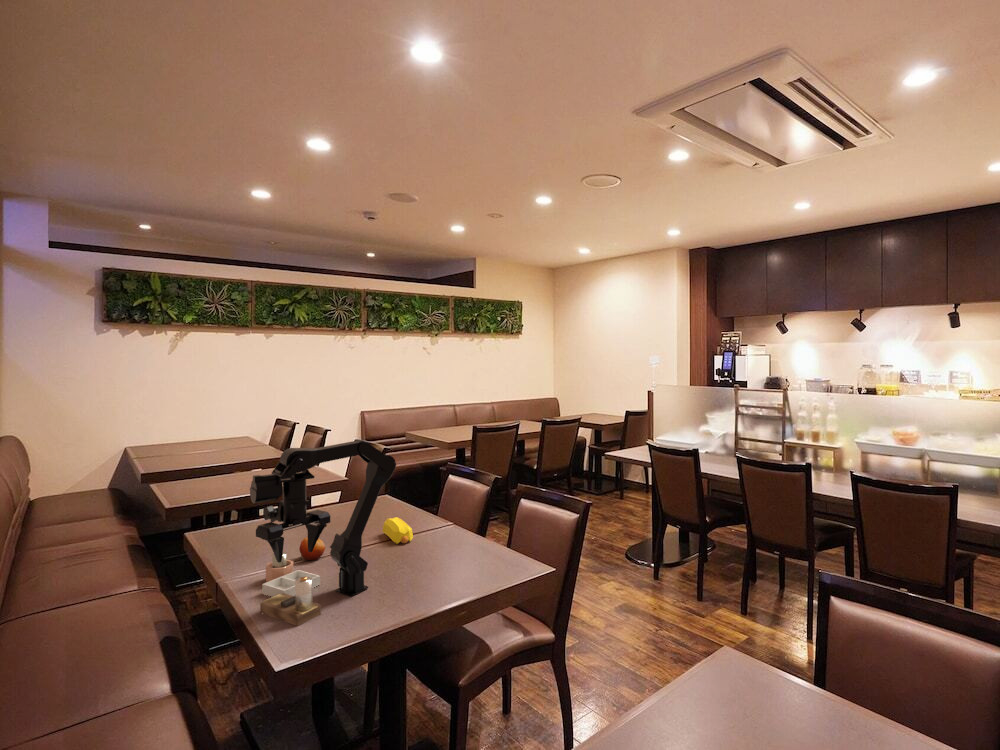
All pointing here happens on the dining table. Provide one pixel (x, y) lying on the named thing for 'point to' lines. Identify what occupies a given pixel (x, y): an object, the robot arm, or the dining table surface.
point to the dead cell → (282, 563)
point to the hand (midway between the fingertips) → (295, 556)
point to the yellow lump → (397, 530)
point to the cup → (278, 571)
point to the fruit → (316, 552)
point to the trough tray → (288, 583)
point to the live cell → (303, 594)
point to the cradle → (288, 609)
